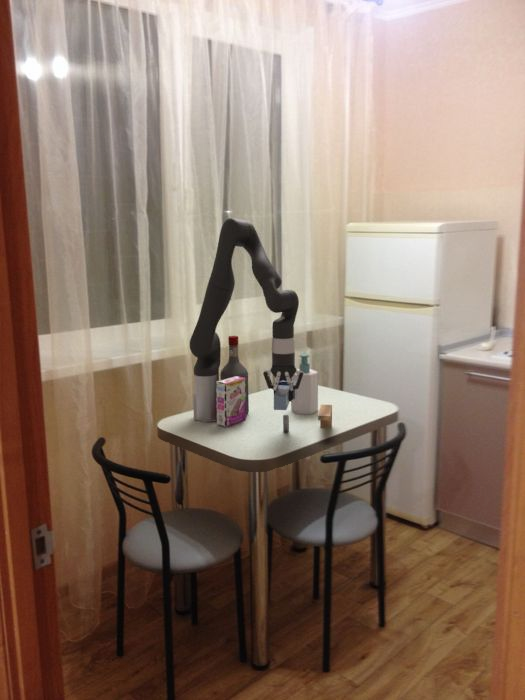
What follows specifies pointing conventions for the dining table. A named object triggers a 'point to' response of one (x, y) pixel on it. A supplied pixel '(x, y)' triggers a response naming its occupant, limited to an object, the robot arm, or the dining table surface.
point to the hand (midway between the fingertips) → (283, 400)
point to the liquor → (235, 366)
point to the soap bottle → (306, 389)
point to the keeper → (325, 416)
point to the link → (283, 395)
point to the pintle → (285, 423)
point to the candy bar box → (231, 401)
